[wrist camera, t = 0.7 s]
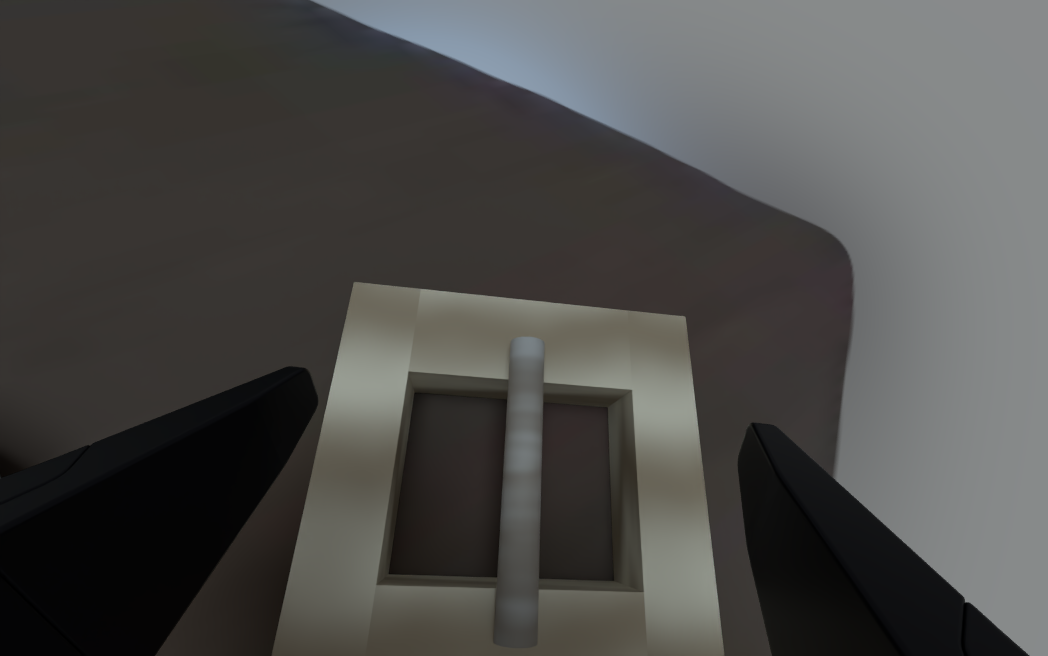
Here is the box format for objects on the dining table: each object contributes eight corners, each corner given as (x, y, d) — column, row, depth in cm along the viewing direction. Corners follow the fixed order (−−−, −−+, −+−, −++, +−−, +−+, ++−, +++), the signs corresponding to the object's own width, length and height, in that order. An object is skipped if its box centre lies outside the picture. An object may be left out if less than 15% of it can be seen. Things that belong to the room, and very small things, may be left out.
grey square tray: (685, 689, 19) (758, 743, 14) (291, 690, 17) (234, 751, 13) (656, 342, 25) (700, 303, 21) (367, 314, 24) (346, 265, 19)
